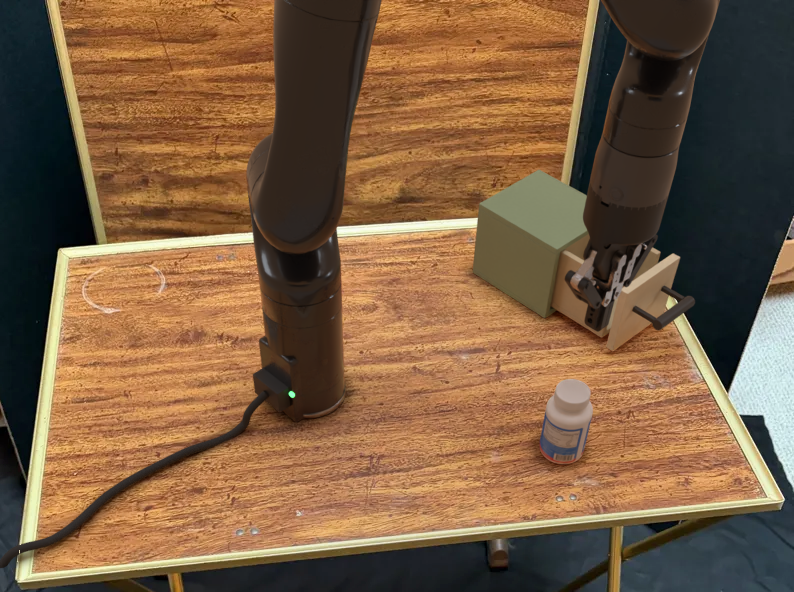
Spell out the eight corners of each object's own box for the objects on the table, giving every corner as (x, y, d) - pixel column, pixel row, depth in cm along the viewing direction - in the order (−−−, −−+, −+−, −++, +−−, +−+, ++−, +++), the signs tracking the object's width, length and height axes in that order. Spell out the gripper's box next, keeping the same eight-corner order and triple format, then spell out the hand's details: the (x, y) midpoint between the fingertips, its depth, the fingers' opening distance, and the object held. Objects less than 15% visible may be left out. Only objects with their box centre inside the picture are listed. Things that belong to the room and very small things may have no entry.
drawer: (692, 332, 129) (711, 274, 122) (642, 370, 125) (659, 312, 117) (591, 272, 137) (603, 214, 129) (540, 306, 132) (550, 248, 125)
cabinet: (601, 280, 137) (616, 211, 128) (544, 318, 132) (557, 249, 123) (528, 237, 143) (539, 169, 134) (472, 272, 138) (479, 203, 129)
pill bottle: (558, 426, 120) (571, 366, 112) (592, 450, 117) (608, 390, 109) (528, 448, 117) (539, 389, 109) (563, 473, 115) (576, 414, 107)
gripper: (640, 140, 97) (605, 283, 110) (555, 191, 91) (529, 336, 104) (703, 171, 93) (659, 315, 107) (619, 227, 87) (584, 371, 101)
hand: (595, 325), depth 106 cm, fingers closed
